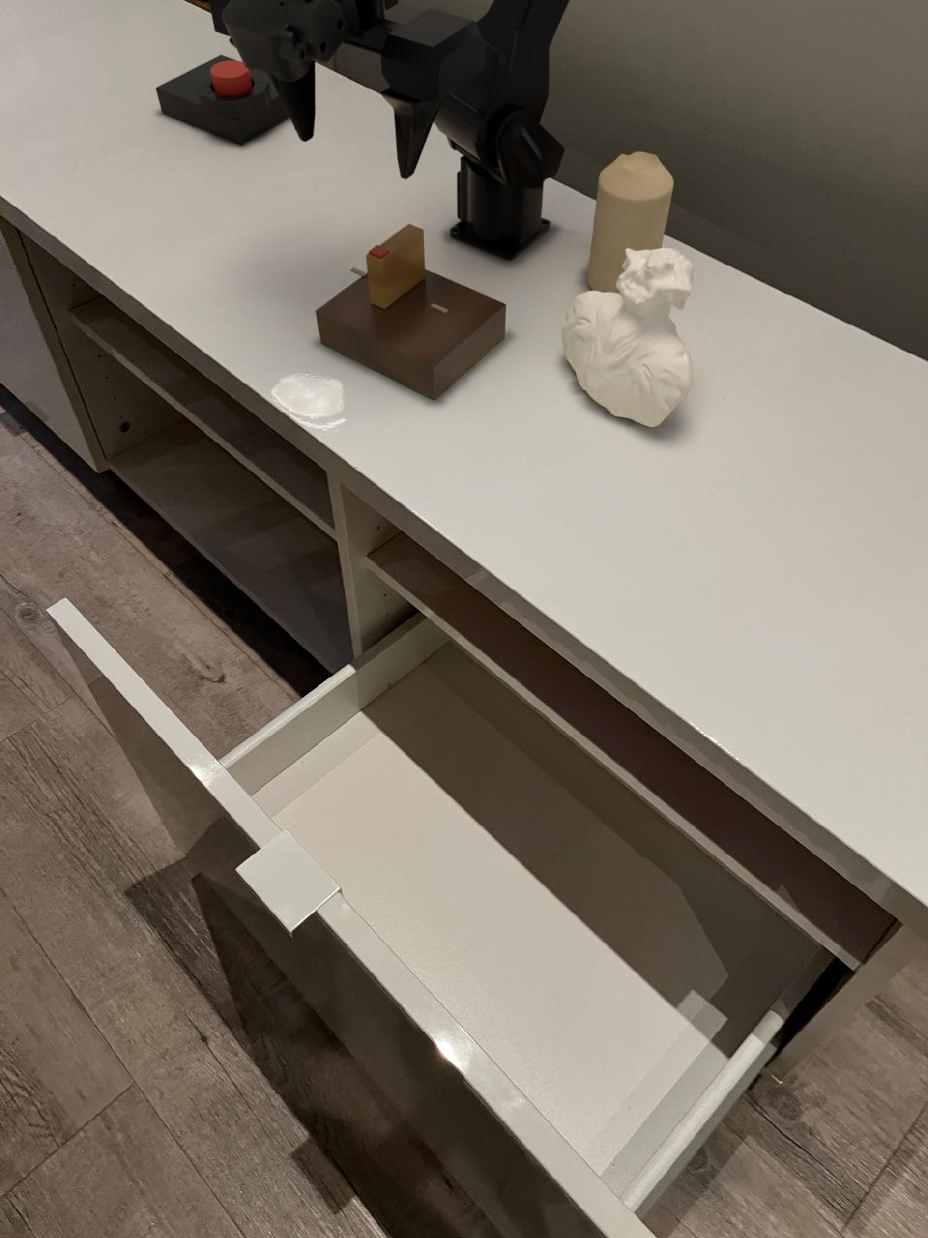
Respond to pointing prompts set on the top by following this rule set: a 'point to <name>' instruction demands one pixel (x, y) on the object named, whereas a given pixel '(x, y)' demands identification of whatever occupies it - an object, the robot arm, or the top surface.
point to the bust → (634, 338)
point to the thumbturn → (396, 266)
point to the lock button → (230, 78)
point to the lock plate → (414, 331)
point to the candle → (627, 215)
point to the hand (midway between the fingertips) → (356, 157)
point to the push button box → (222, 104)
